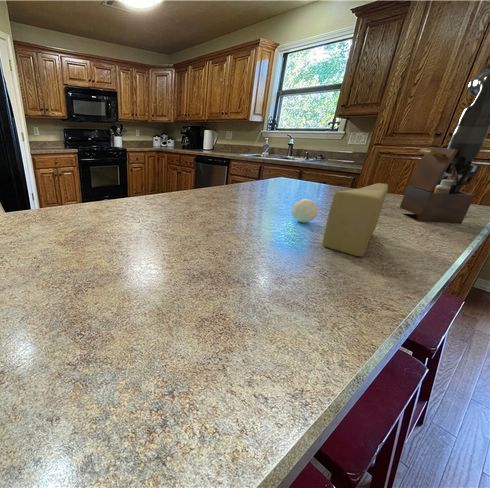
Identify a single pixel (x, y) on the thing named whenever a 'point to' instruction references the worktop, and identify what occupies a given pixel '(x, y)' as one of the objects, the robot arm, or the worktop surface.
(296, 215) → the ball
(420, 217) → the chest
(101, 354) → the worktop surface
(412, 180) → the lid
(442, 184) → the supplement bottle
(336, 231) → the cheese
